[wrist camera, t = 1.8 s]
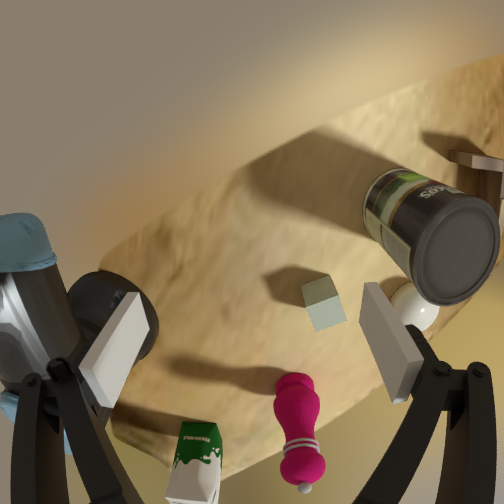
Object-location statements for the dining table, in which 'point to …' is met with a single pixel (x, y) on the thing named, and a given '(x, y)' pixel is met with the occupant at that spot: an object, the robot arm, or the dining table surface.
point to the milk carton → (196, 465)
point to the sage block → (323, 303)
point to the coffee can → (433, 234)
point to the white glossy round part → (413, 307)
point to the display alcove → (486, 179)
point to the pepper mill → (299, 430)
